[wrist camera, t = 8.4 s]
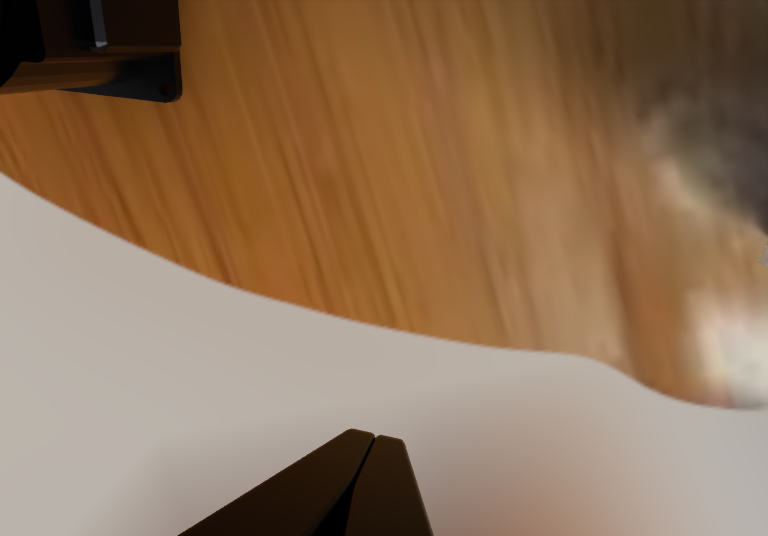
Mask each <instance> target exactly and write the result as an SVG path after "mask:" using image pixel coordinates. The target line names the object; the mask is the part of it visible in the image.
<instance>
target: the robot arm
mask: <svg viewBox="0 0 768 536" xmlns="http://www.w3.org/2000/svg"><path fill="white" fill-rule="evenodd" d="M180 46H181V34H180V21H179V8H178V0H0V95H1V94H12V93H23V92H33V91H44V90H55V89H56V90H64V91H72V92H81V93H89V94H97V95H106V96H114V97H123V98H131V99H139V100H148V101H156V102H164V103H167V102H174V101H177V100H179V99H180V97H181V95H182V77H181V64H180V52H179V48H180ZM165 83H167V84H168V85H169V86H170V89H171V91H170V94H168V93H167V92H166V91H165ZM178 536H434V535H433V531H432V529H431V525H430V522H429V519H428V516H427V512H426V509H425V506H424V503H423V500H422V497H421V494H420V490H419V487H418V484H417V481H416V478H415V475H414V471H413V468H412V465H411V462H410V459H409V456H408V453H407V449H406V446H405V444H404V442H403V440H401V439H397V438H393V437H388V436H384V435H379V436H377V437H376V438H375V435H374V434H373V433H370V432H366V431H361V430H357V429H349V430H346V431H345V432H343V433H342V434H340V435H338V436H337V437H335V438H334V439H332V440H330V441H329V442H327V443H326V444H324V445H322V446H321V447H319V448H317V449H316V450H314V451H313V452H311V453H309V454H308V455H306V456H305V457H303V458H301V459H300V460H298V461H296V462H295V463H293V464H292V465H290V466H288V467H287V468H285V469H284V470H282V471H280V472H279V473H277V474H276V475H274V476H272V477H271V478H269V479H268V480H266V481H264V482H263V483H261V484H260V485H258V486H256V487H255V488H253V489H252V490H250V491H248V492H247V493H245V494H244V495H242V496H240V497H239V498H237V499H235V500H234V501H233V502H231V503H229V504H227V505H226V506H224V507H223V508H221V509H219V510H218V511H216V512H215V513H213V514H211V515H210V516H208V517H206V518H205V519H203V520H202V521H200V522H198V523H197V524H195V525H194V526H192V527H191V528H189V529H187V530H186V531H184V532H182V533H181V534H179V535H178Z"/></svg>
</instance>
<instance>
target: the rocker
mask: <svg viewBox="0 0 768 536" xmlns="http://www.w3.org/2000/svg"><path fill="white" fill-rule="evenodd" d="M759 262H760V263H761V264H763V265H764V266H766V267H767V268H768V242H767V244H766V247H765V249H764V251H763V254H762V256H761V258H760V261H759Z"/></svg>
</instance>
